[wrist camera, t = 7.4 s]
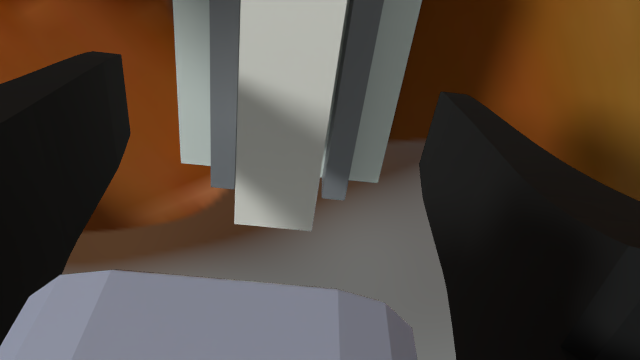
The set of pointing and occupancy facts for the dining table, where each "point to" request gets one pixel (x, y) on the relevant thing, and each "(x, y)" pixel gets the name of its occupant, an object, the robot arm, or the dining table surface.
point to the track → (347, 100)
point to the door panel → (284, 107)
